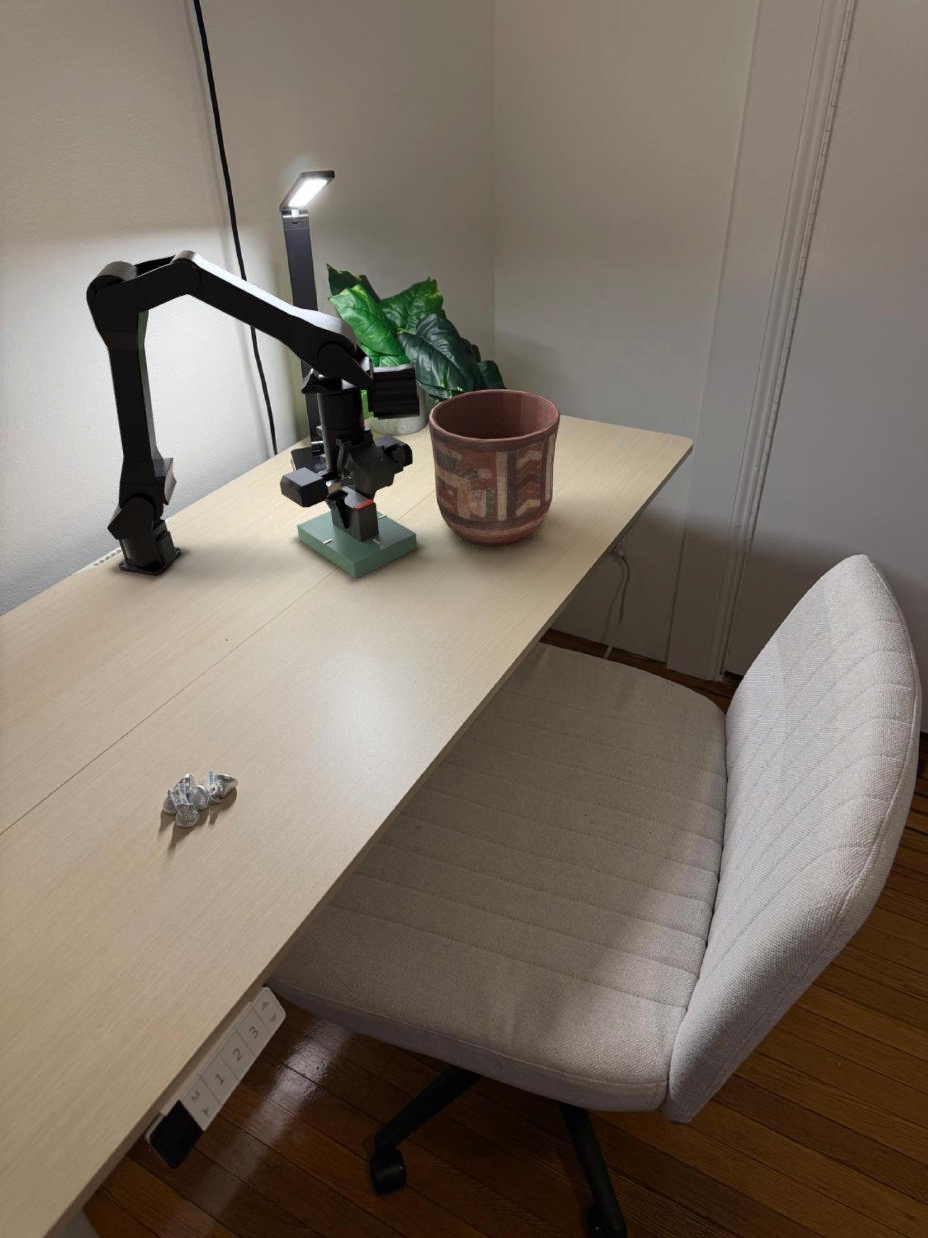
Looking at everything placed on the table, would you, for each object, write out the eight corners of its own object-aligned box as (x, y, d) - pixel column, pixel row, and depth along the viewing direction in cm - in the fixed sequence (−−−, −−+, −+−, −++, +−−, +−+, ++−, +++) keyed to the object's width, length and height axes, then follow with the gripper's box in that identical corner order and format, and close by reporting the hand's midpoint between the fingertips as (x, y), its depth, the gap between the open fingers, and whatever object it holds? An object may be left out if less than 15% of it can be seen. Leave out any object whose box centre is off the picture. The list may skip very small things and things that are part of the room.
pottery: (518, 571, 113) (520, 451, 102) (413, 538, 120) (404, 423, 109) (573, 514, 125) (580, 401, 114) (474, 487, 132) (472, 379, 121)
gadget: (332, 524, 119) (328, 492, 116) (350, 516, 121) (346, 484, 118) (361, 542, 115) (357, 509, 112) (379, 533, 117) (376, 501, 114)
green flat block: (298, 540, 121) (295, 524, 119) (359, 513, 127) (357, 497, 125) (355, 578, 112) (353, 562, 111) (417, 547, 118) (416, 532, 117)
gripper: (318, 463, 98) (334, 571, 108) (435, 417, 108) (440, 520, 118) (269, 435, 105) (287, 539, 114) (383, 394, 115) (392, 493, 124)
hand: (354, 523), depth 117 cm, fingers open, 3 cm apart
